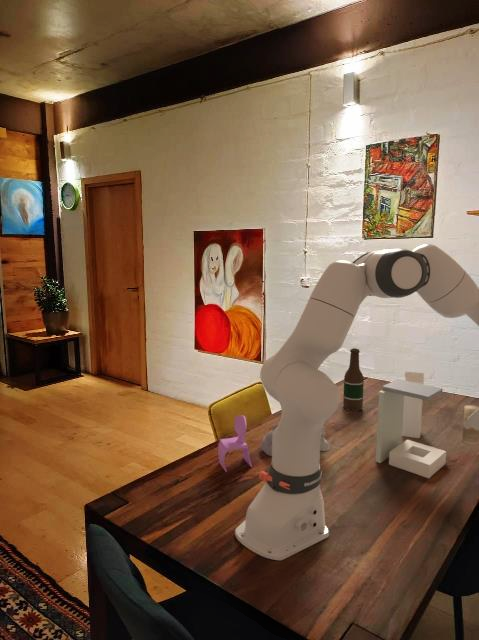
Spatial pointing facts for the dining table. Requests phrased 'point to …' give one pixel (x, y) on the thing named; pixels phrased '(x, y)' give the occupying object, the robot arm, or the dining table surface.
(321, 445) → the chalice
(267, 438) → the grey conch shell
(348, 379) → the beer bottle
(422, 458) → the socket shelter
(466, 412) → the peg
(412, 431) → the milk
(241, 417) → the toy chair
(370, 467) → the dining table surface
